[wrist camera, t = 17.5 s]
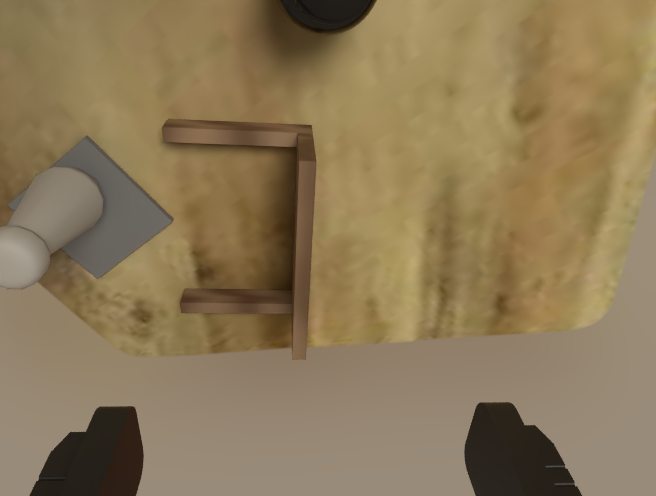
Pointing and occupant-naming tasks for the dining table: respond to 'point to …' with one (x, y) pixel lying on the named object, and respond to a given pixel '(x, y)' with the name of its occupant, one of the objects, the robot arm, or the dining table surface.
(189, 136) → the wooden stand
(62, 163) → the mat
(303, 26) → the supplement bottle
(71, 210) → the salt shaker
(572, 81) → the dining table surface
